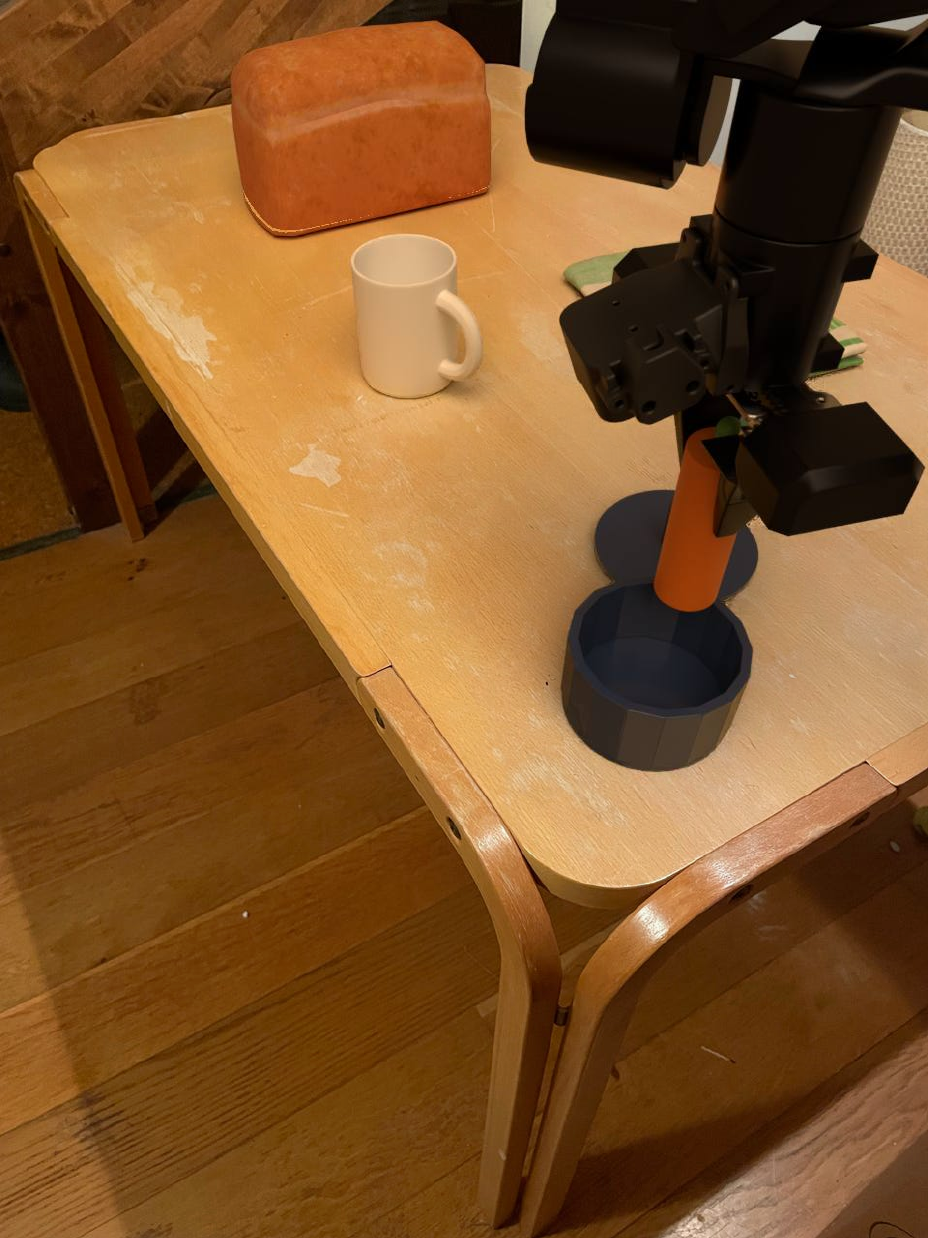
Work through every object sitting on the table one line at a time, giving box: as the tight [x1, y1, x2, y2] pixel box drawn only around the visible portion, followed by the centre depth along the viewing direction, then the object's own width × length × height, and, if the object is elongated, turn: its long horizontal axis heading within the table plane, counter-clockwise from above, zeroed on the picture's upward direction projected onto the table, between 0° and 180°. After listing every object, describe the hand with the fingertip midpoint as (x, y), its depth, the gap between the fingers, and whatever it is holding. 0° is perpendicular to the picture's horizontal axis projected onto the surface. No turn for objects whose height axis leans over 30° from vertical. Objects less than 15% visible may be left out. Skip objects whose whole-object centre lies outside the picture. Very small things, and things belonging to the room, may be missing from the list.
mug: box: [349, 233, 484, 399], centre depth 72 cm, size 12×8×10 cm
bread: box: [229, 20, 492, 237], centre depth 93 cm, size 14×26×16 cm, turn 116°
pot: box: [560, 576, 754, 773], centre depth 52 cm, size 10×10×6 cm
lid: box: [593, 489, 759, 603], centre depth 61 cm, size 11×11×5 cm
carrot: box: [654, 416, 742, 612], centre depth 47 cm, size 4×4×12 cm
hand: (707, 509), depth 46 cm, fingers closed on carrot, 3 cm apart
